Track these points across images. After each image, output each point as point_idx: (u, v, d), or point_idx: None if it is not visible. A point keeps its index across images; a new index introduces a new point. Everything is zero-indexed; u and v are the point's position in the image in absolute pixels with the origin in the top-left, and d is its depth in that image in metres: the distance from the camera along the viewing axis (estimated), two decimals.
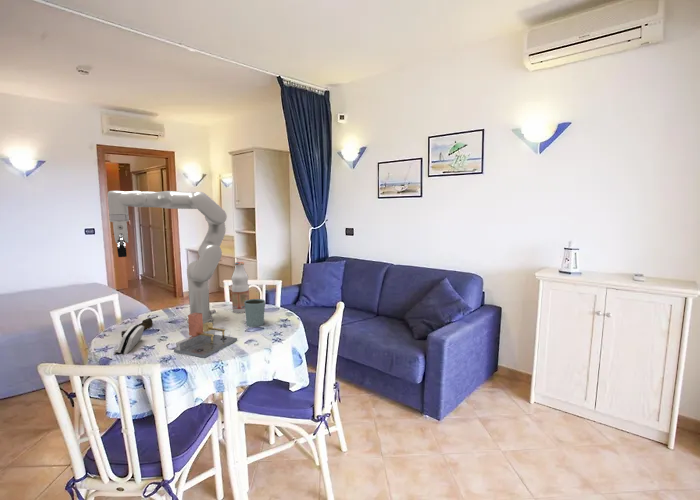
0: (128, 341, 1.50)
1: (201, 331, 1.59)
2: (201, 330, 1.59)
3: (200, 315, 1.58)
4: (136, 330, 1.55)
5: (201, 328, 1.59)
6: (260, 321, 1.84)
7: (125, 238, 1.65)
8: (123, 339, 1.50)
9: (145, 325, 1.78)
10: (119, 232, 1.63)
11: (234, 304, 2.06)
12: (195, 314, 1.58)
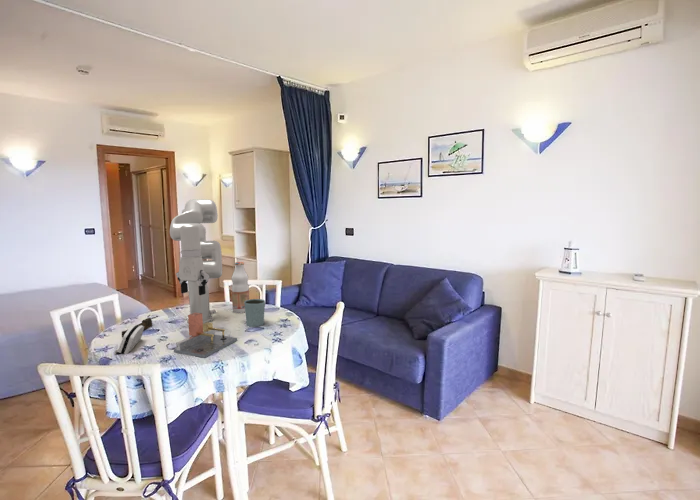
0: (129, 341, 1.50)
1: (201, 331, 1.59)
2: (201, 330, 1.59)
3: (200, 315, 1.58)
4: (136, 330, 1.55)
5: (201, 328, 1.59)
6: (260, 321, 1.84)
7: None
8: (124, 339, 1.50)
9: (145, 325, 1.78)
10: None
11: (234, 304, 2.06)
12: (195, 314, 1.58)
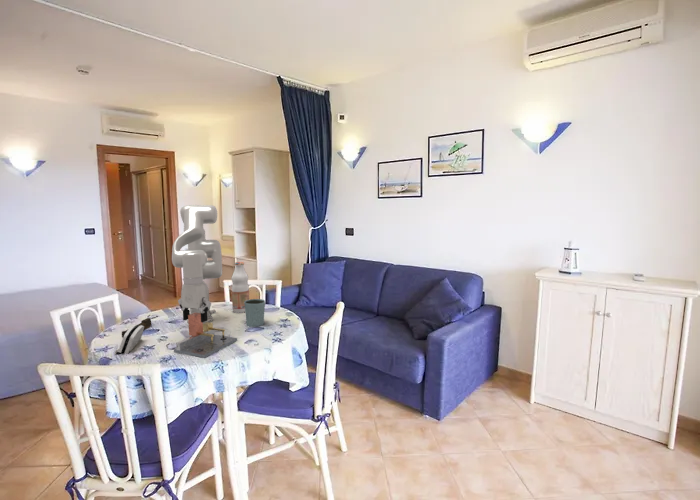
0: (129, 341, 1.50)
1: (201, 331, 1.59)
2: (201, 330, 1.59)
3: (200, 315, 1.58)
4: (137, 330, 1.55)
5: (201, 328, 1.59)
6: (260, 321, 1.84)
7: None
8: (124, 339, 1.50)
9: (144, 325, 1.78)
10: None
11: (234, 304, 2.06)
12: (195, 314, 1.58)
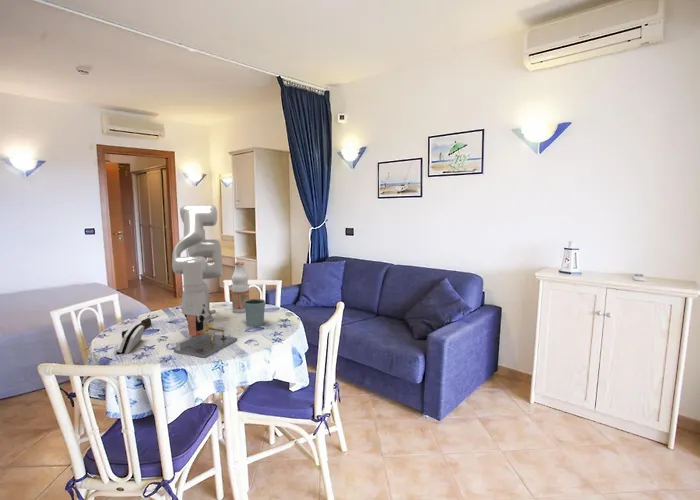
0: (129, 341, 1.50)
1: (201, 331, 1.59)
2: (201, 330, 1.59)
3: None
4: (137, 330, 1.55)
5: None
6: (260, 321, 1.84)
7: None
8: (124, 339, 1.50)
9: (144, 325, 1.78)
10: None
11: (234, 304, 2.06)
12: None
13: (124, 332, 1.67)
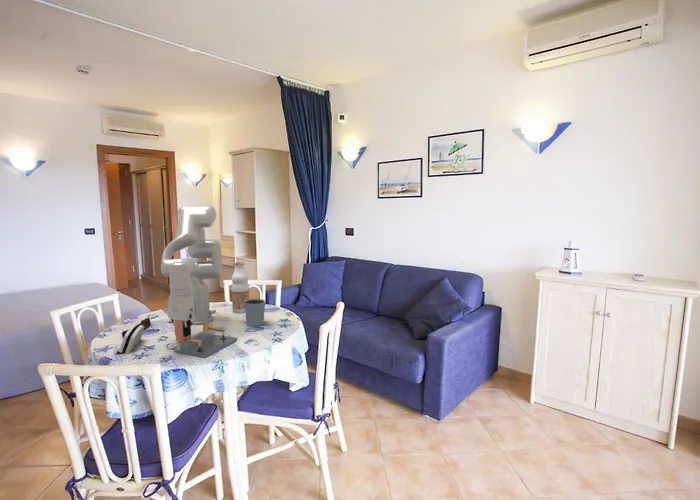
0: (130, 341, 1.51)
1: (188, 336, 1.53)
2: None
3: None
4: (137, 330, 1.55)
5: None
6: (260, 321, 1.84)
7: None
8: (124, 339, 1.50)
9: (144, 325, 1.79)
10: None
11: (234, 304, 2.06)
12: None
13: (124, 332, 1.67)
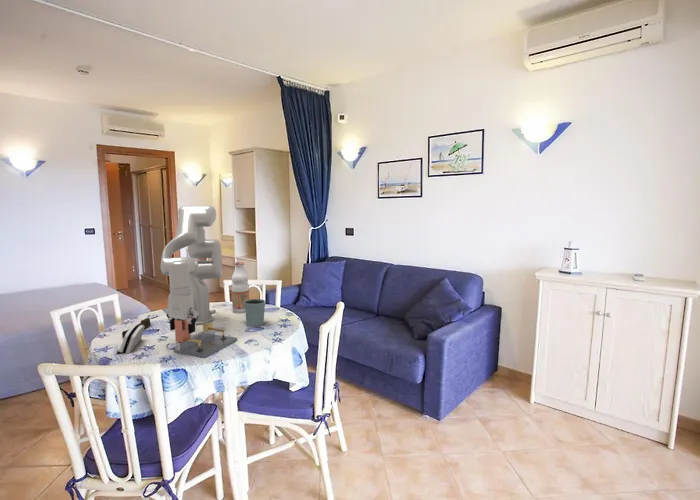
0: (130, 340, 1.51)
1: (188, 337, 1.53)
2: (188, 335, 1.53)
3: None
4: (137, 330, 1.56)
5: (188, 333, 1.53)
6: (260, 321, 1.84)
7: None
8: (125, 339, 1.50)
9: (144, 325, 1.79)
10: None
11: (234, 304, 2.06)
12: None
13: (124, 332, 1.67)
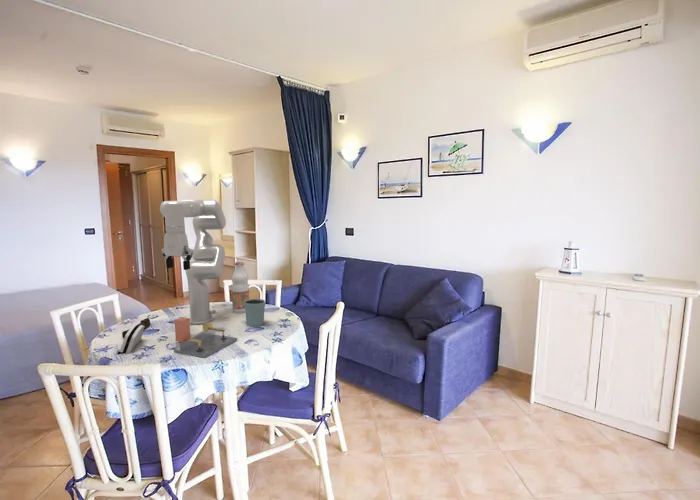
0: (130, 340, 1.51)
1: (188, 337, 1.53)
2: (188, 335, 1.53)
3: (187, 320, 1.52)
4: (138, 329, 1.56)
5: (188, 333, 1.53)
6: (260, 321, 1.84)
7: None
8: (125, 339, 1.50)
9: (144, 325, 1.79)
10: None
11: (234, 304, 2.06)
12: (182, 319, 1.51)
13: (125, 332, 1.67)
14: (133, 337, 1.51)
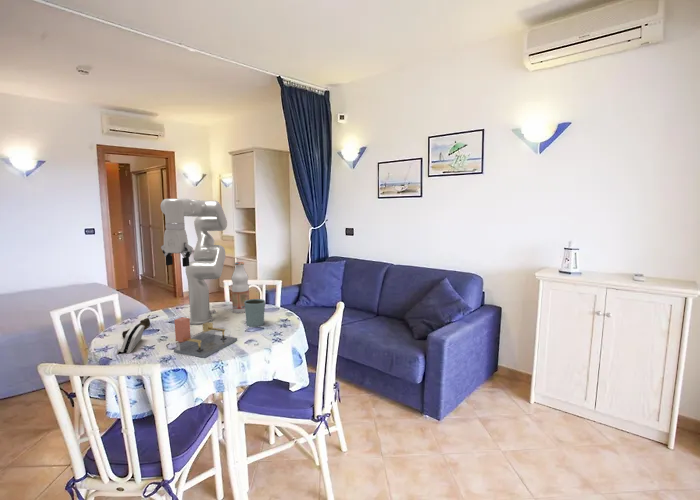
0: (131, 340, 1.51)
1: (188, 337, 1.53)
2: (188, 335, 1.53)
3: (187, 320, 1.52)
4: (138, 329, 1.56)
5: (188, 333, 1.53)
6: (260, 321, 1.84)
7: None
8: (126, 338, 1.50)
9: (144, 325, 1.79)
10: None
11: (234, 304, 2.06)
12: (182, 319, 1.51)
13: (125, 332, 1.67)
14: (133, 337, 1.51)
